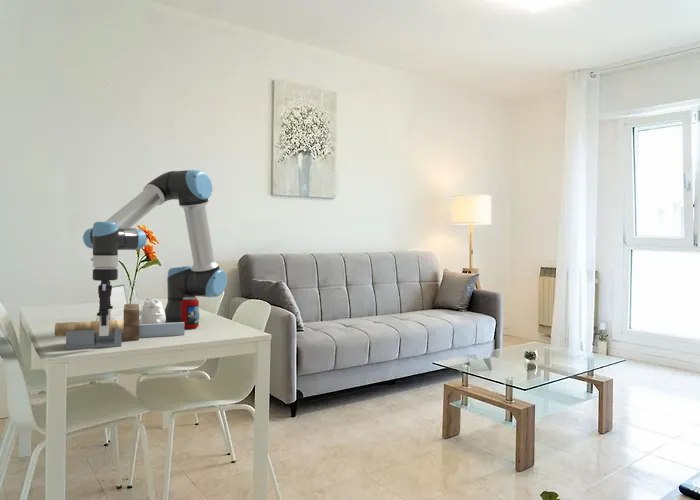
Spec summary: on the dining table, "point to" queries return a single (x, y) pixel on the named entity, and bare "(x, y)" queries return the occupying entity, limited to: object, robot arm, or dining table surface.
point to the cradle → (90, 339)
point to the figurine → (152, 312)
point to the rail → (154, 330)
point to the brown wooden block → (131, 322)
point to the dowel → (86, 327)
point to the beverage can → (190, 312)
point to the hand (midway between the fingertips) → (105, 332)
